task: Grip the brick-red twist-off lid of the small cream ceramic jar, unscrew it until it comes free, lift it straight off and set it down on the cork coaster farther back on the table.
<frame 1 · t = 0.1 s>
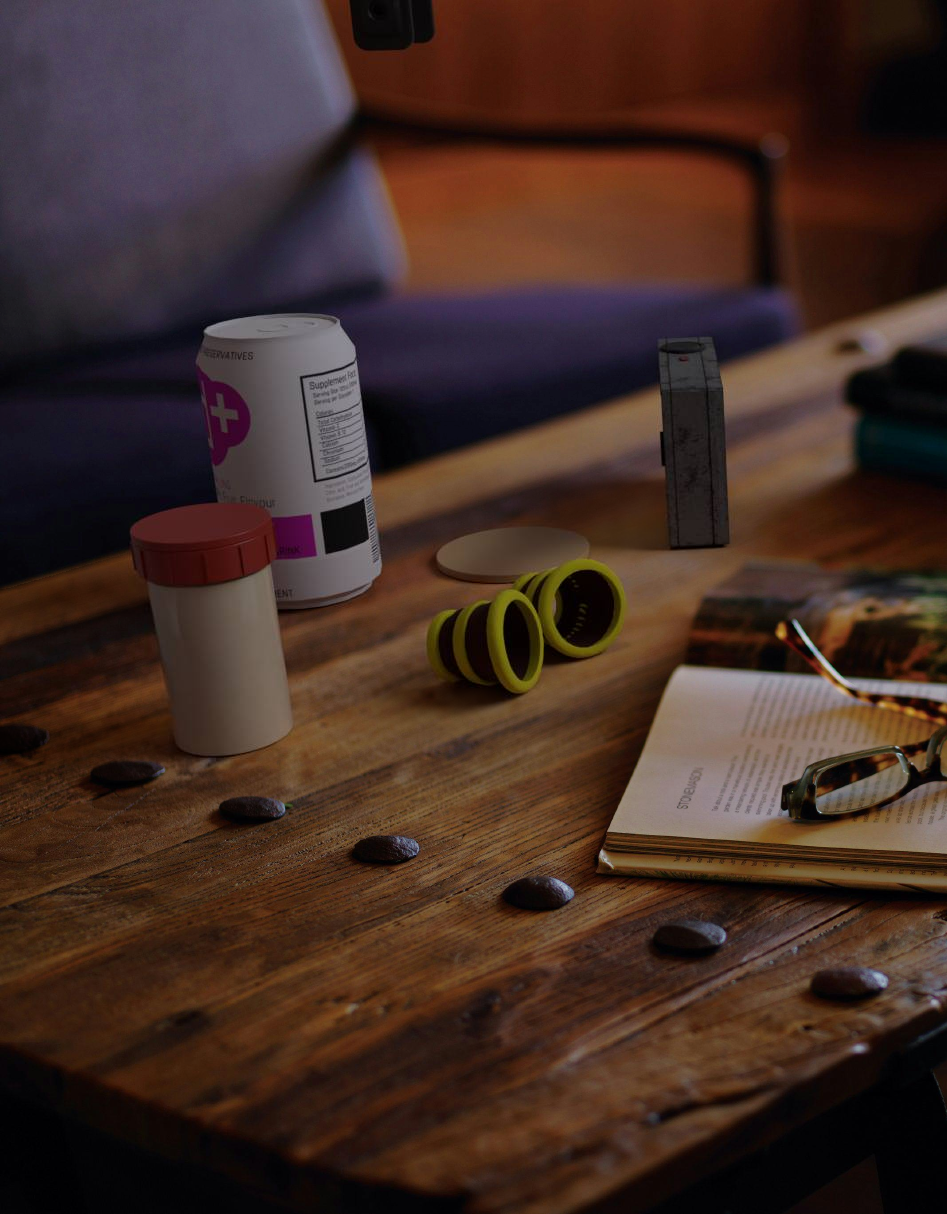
hand: (398, 46, 66), 29 cm above the table, tool pointing down, fingers open, 8 cm apart
opera glasses: (530, 668, 81), on the table
jar: (235, 731, 75), on the table
supplement can: (309, 591, 93), on the table
coaster: (514, 557, 97), on the table
jar lid: (202, 530, 71), point 10 cm above the table, screwed on, not yet turned
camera: (694, 511, 105), on the table
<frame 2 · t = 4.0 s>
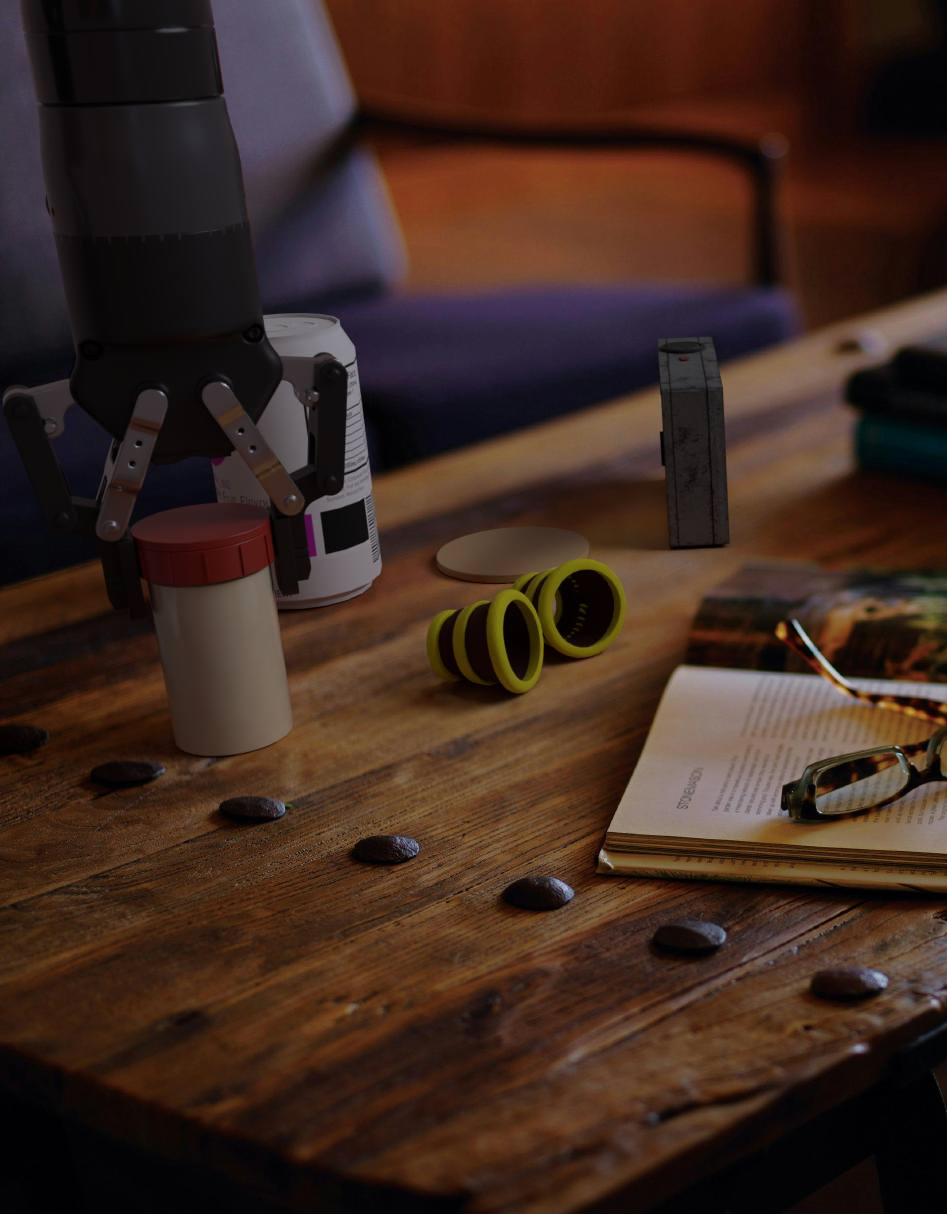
hand: (214, 600, 72), 6 cm above the table, tool pointing down, fingers closed on jar lid, 5 cm apart
jar lid: (202, 530, 71), point 10 cm above the table, screwed on, not yet turned, touching gripper
everything else where it was.
when the fingers open (6 cm above the table, at t = 5.8 s): jar lid stays where it is, point 10 cm above the table.
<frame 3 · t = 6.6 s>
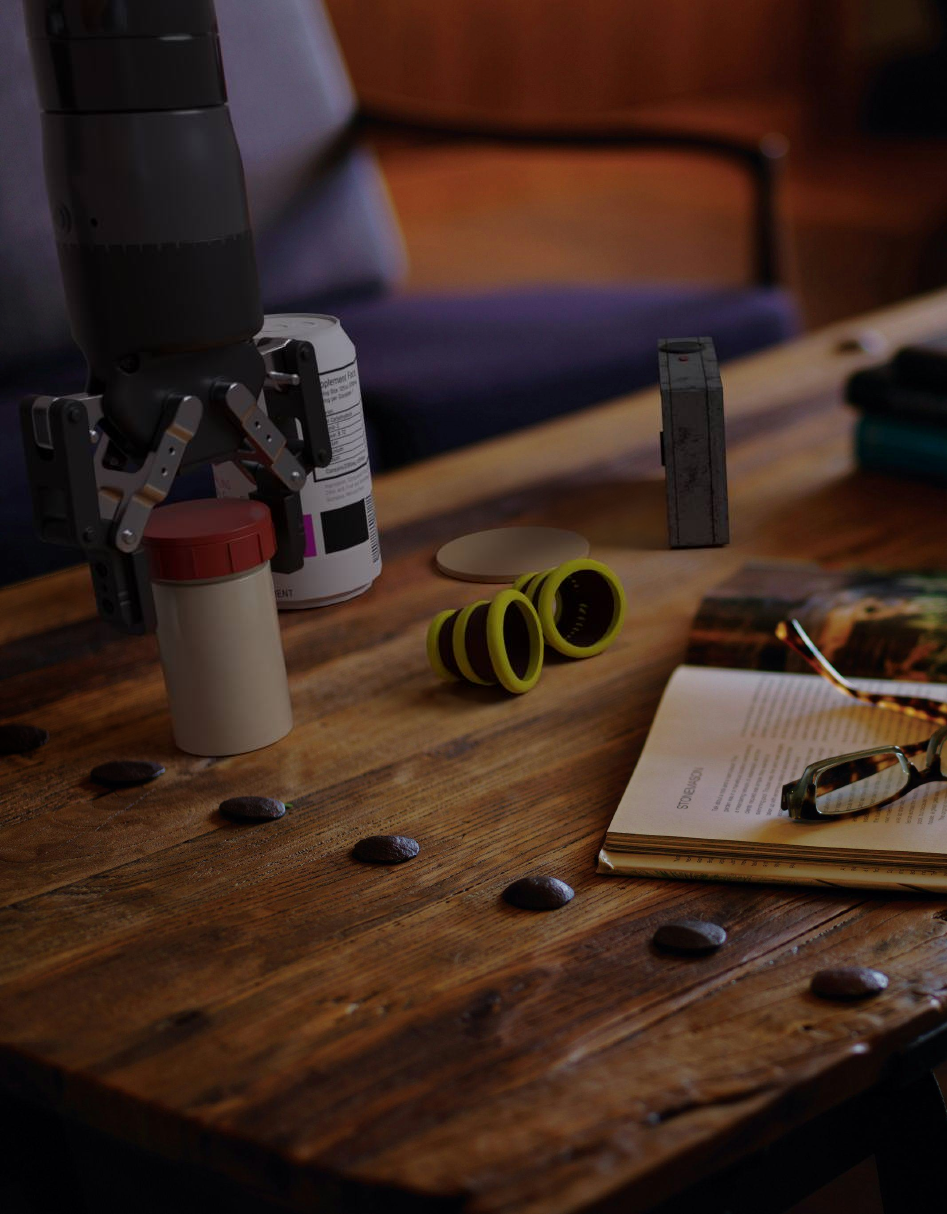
hand: (212, 599, 72), 7 cm above the table, tool pointing down, fingers open, 8 cm apart
jar lid: (201, 525, 71), point 10 cm above the table, turned 81° so far, risen 0.2 cm, still on its thread
everything else where it was.
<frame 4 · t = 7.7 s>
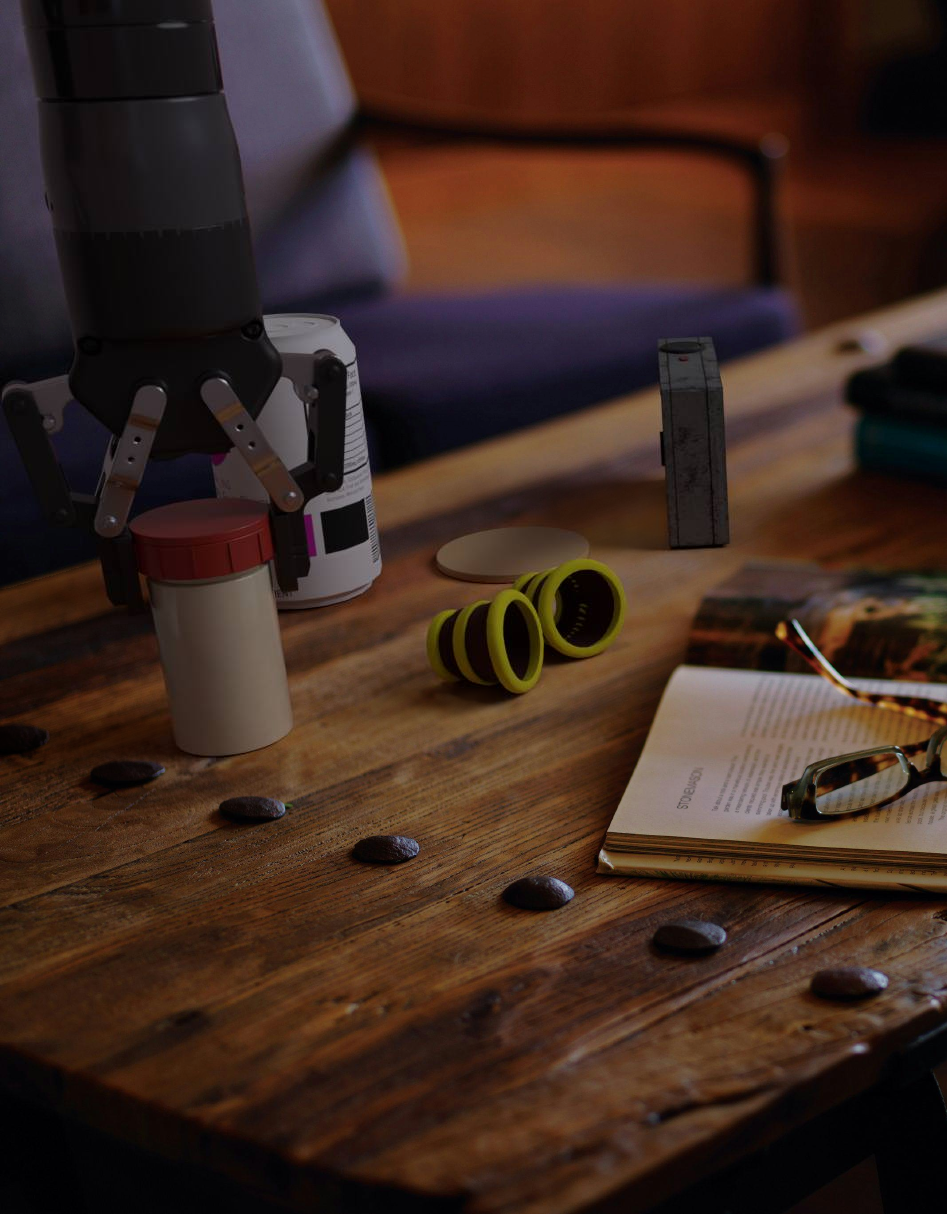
hand: (213, 597, 72), 7 cm above the table, tool pointing down, fingers closed on jar lid, 6 cm apart
jar lid: (201, 525, 71), point 10 cm above the table, turned 81° so far, risen 0.2 cm, still on its thread, touching gripper
everything else where it was.
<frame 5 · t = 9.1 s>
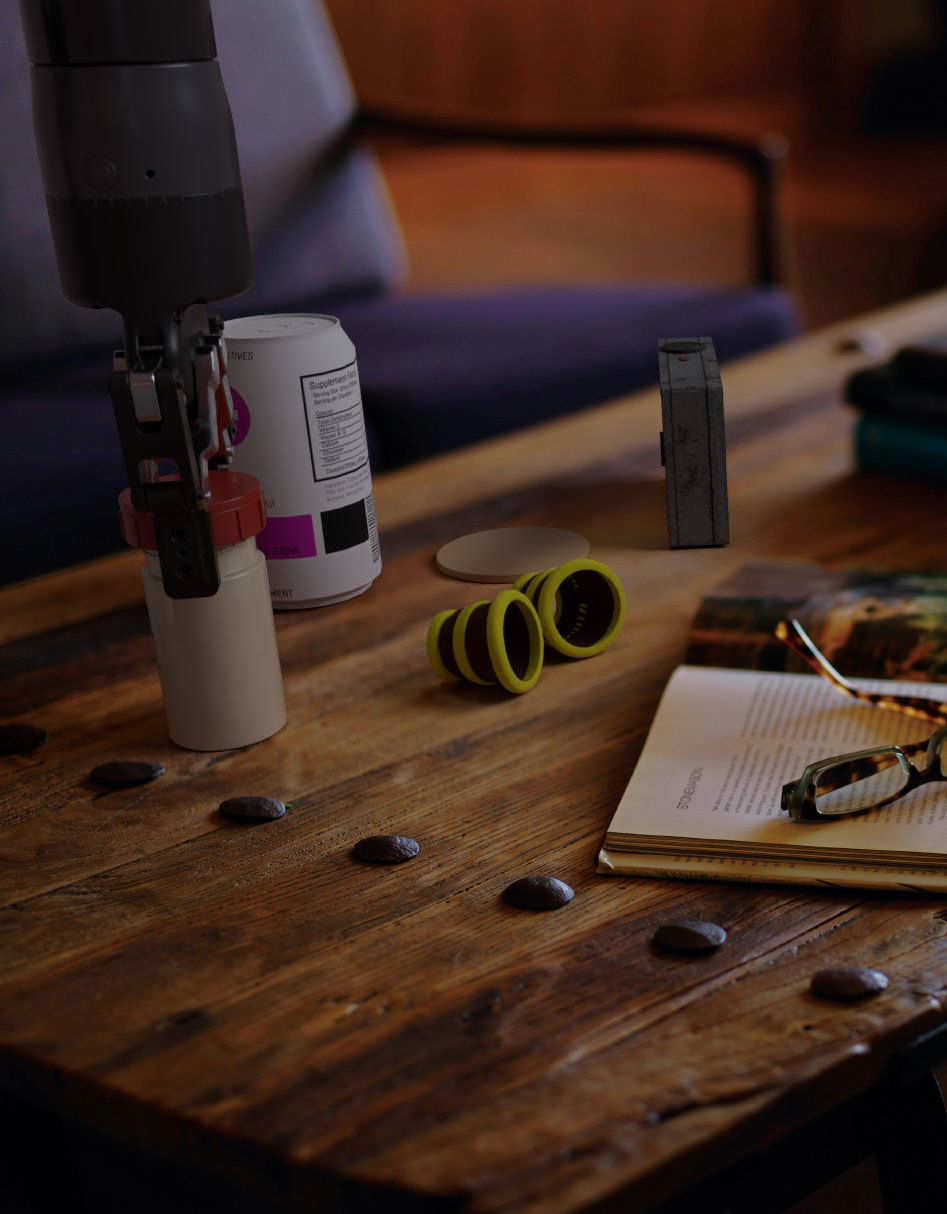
hand: (204, 569, 72), 8 cm above the table, tool pointing down, fingers closed on jar lid, 6 cm apart
jar: (229, 725, 75), on the table, touching gripper
jar lid: (191, 497, 71), point 11 cm above the table, off its thread, touching gripper
everything else where it was.
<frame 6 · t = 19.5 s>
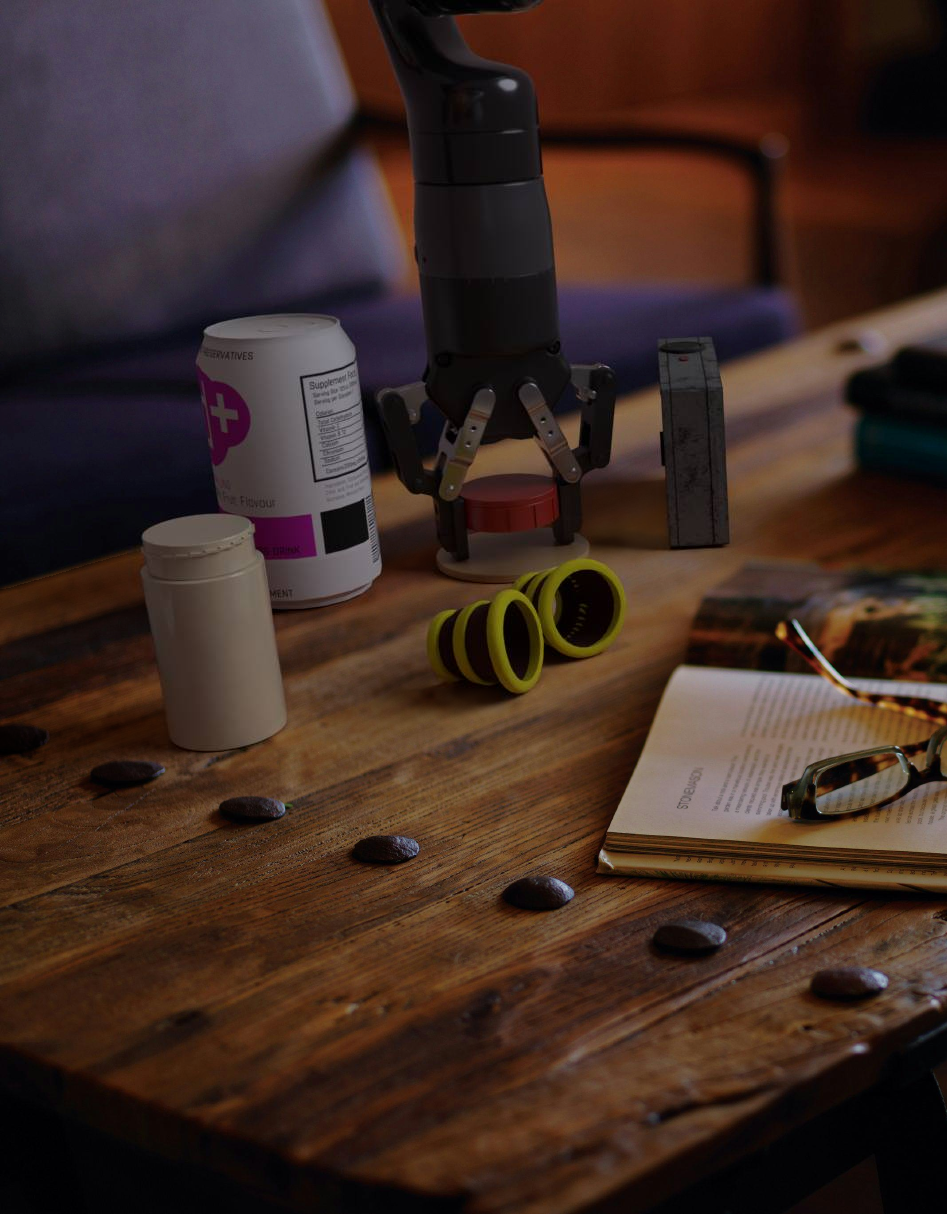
hand: (512, 547, 97), 1 cm above the table, tool pointing down, fingers closed on jar lid, 5 cm apart
jar: (229, 727, 75), on the table
jar lid: (507, 493, 96), point 4 cm above the table, off its thread, touching gripper
everything else where it was.
when the fingers open (1 cm above the table, at t = 26.1 s): jar lid drops 2 cm, resting on coaster.
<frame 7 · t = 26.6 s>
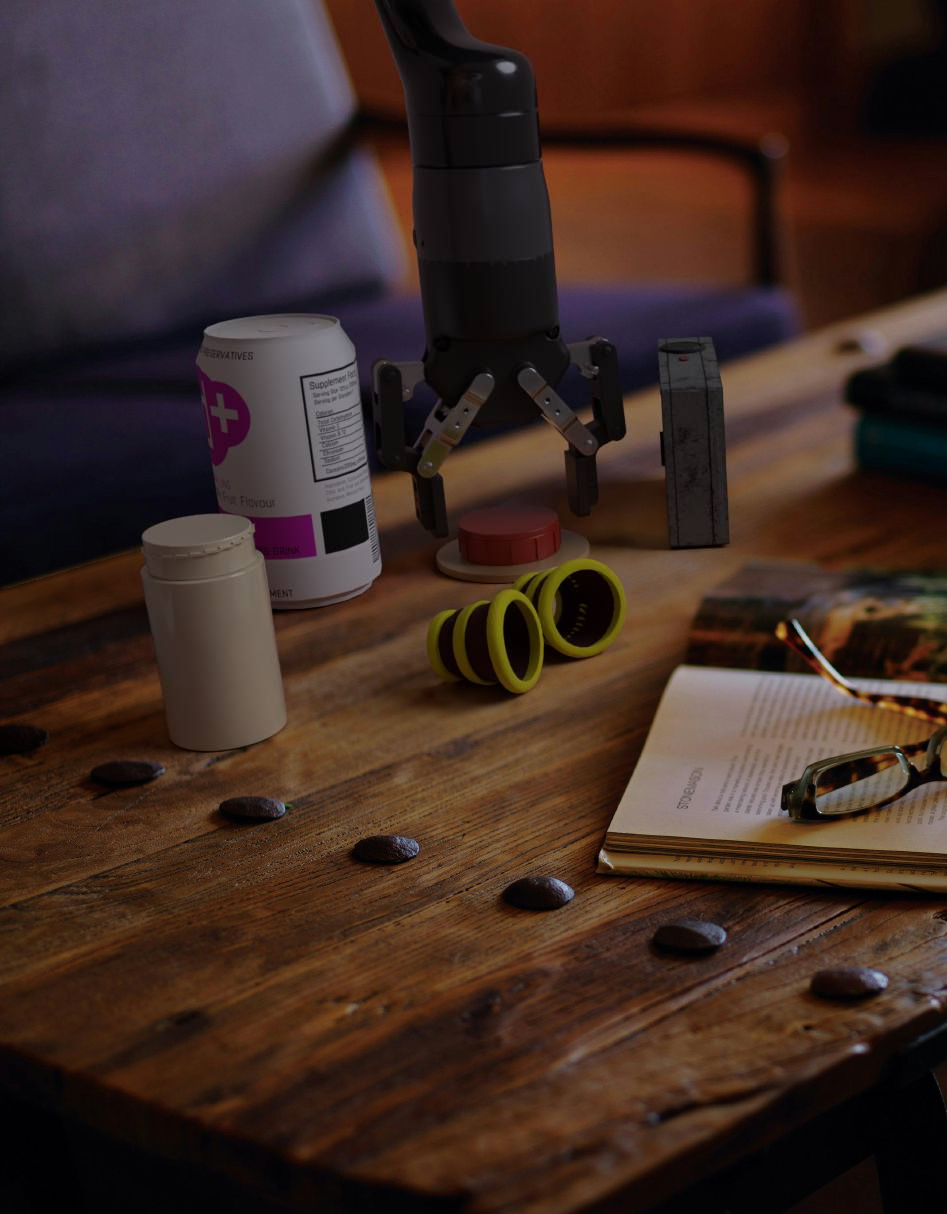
hand: (510, 523, 96), 2 cm above the table, tool pointing down, fingers open, 8 cm apart
jar lid: (508, 525, 96), point 2 cm above the table, off its thread, touching coaster
everything else where it was.
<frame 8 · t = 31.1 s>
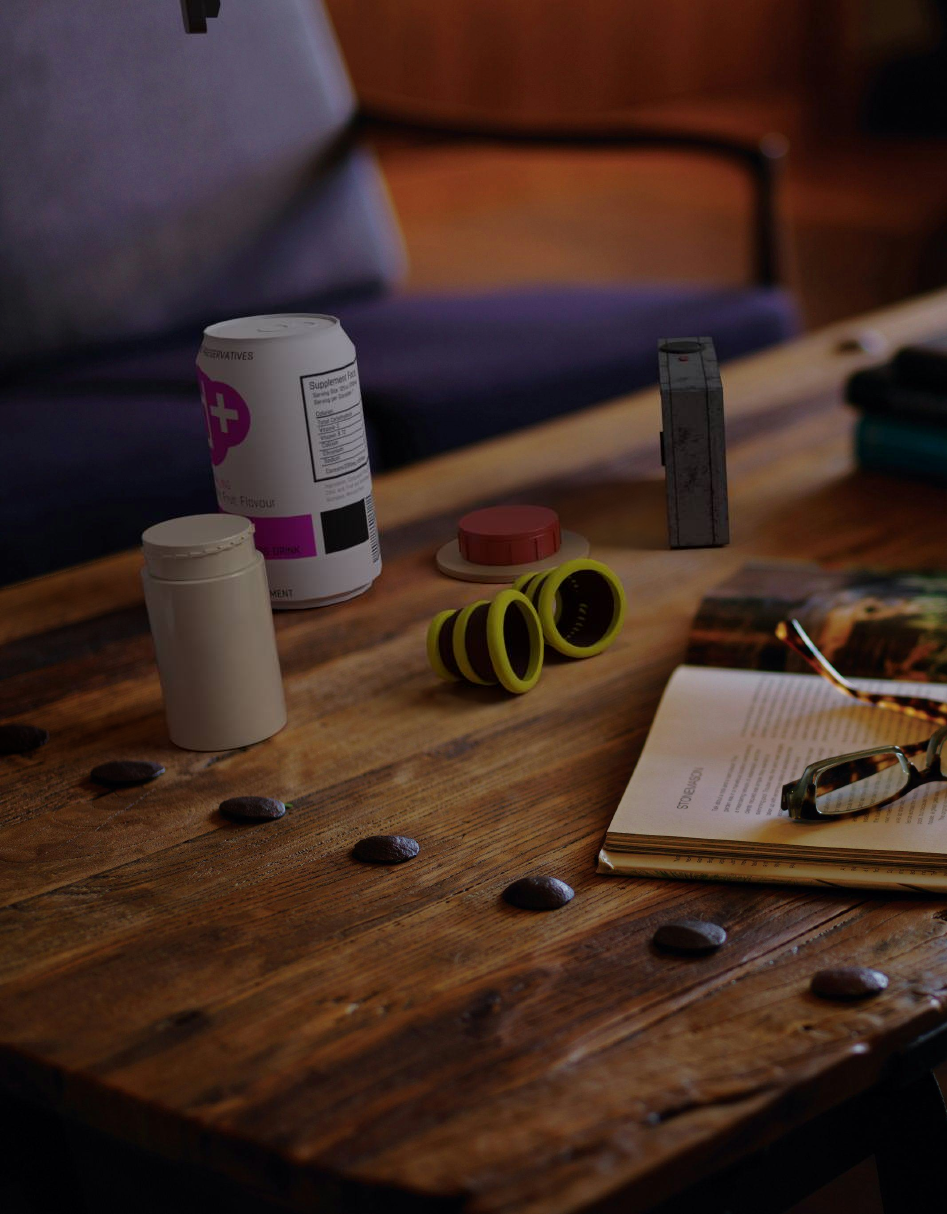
hand: (85, 36, 66), 30 cm above the table, tool pointing down, fingers open, 8 cm apart
nothing on the table moved.
at the end: jar lid came off its thread; jar lid 0.1 cm from the coaster (horizontally); jar lid point 2.0 cm above the table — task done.
